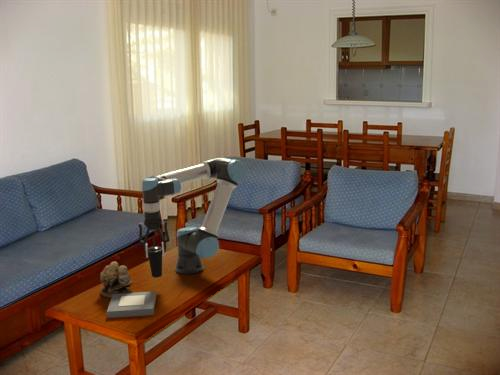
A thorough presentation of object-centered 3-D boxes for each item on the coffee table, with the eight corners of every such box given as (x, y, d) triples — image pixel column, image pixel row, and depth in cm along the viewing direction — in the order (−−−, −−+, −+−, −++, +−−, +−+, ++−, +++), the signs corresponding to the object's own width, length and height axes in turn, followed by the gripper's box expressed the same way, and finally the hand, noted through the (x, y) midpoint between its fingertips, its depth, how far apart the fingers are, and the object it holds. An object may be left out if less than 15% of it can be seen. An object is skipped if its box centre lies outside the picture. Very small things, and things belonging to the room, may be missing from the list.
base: (156, 297, 263) (155, 290, 262) (153, 314, 243) (152, 307, 242) (113, 299, 261) (112, 293, 260) (107, 318, 241) (106, 311, 240)
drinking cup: (146, 275, 271) (142, 236, 266) (159, 271, 275) (156, 233, 271) (154, 279, 265) (150, 240, 261) (167, 275, 270) (164, 236, 265)
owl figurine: (139, 291, 270) (137, 258, 266) (127, 301, 259) (124, 267, 256) (107, 288, 276) (105, 255, 272) (94, 297, 265) (91, 263, 261)
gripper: (129, 214, 259) (133, 260, 263) (173, 211, 261) (176, 257, 265) (131, 210, 266) (135, 255, 271) (173, 207, 268) (176, 252, 273)
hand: (155, 256), depth 268 cm, fingers closed on drinking cup, 7 cm apart
